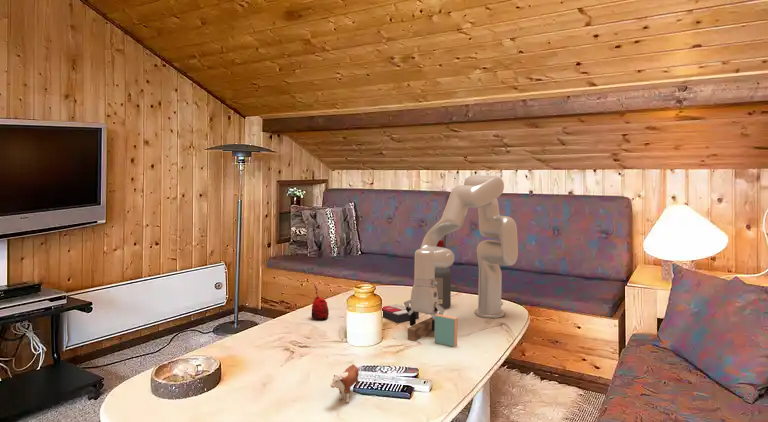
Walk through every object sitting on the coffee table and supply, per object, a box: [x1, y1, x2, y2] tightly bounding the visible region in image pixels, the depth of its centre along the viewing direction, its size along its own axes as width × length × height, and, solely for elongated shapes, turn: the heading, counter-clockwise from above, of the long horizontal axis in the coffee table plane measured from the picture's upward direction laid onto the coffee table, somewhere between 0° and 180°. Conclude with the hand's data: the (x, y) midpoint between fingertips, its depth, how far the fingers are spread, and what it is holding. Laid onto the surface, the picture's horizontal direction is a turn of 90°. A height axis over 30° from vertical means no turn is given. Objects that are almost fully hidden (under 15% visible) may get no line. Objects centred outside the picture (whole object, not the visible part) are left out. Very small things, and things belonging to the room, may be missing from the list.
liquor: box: [434, 239, 452, 310], centre depth 228 cm, size 9×9×30 cm
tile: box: [434, 313, 458, 348], centre depth 181 cm, size 2×8×10 cm, turn 54°
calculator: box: [382, 303, 420, 324], centre depth 215 cm, size 11×4×15 cm
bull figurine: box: [330, 364, 360, 404], centre depth 140 cm, size 4×13×8 cm, turn 159°
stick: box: [407, 316, 435, 342], centre depth 193 cm, size 18×3×4 cm, turn 144°
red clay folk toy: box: [311, 284, 330, 321], centre depth 212 cm, size 8×7×15 cm
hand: (423, 327), depth 193 cm, fingers open, 9 cm apart
